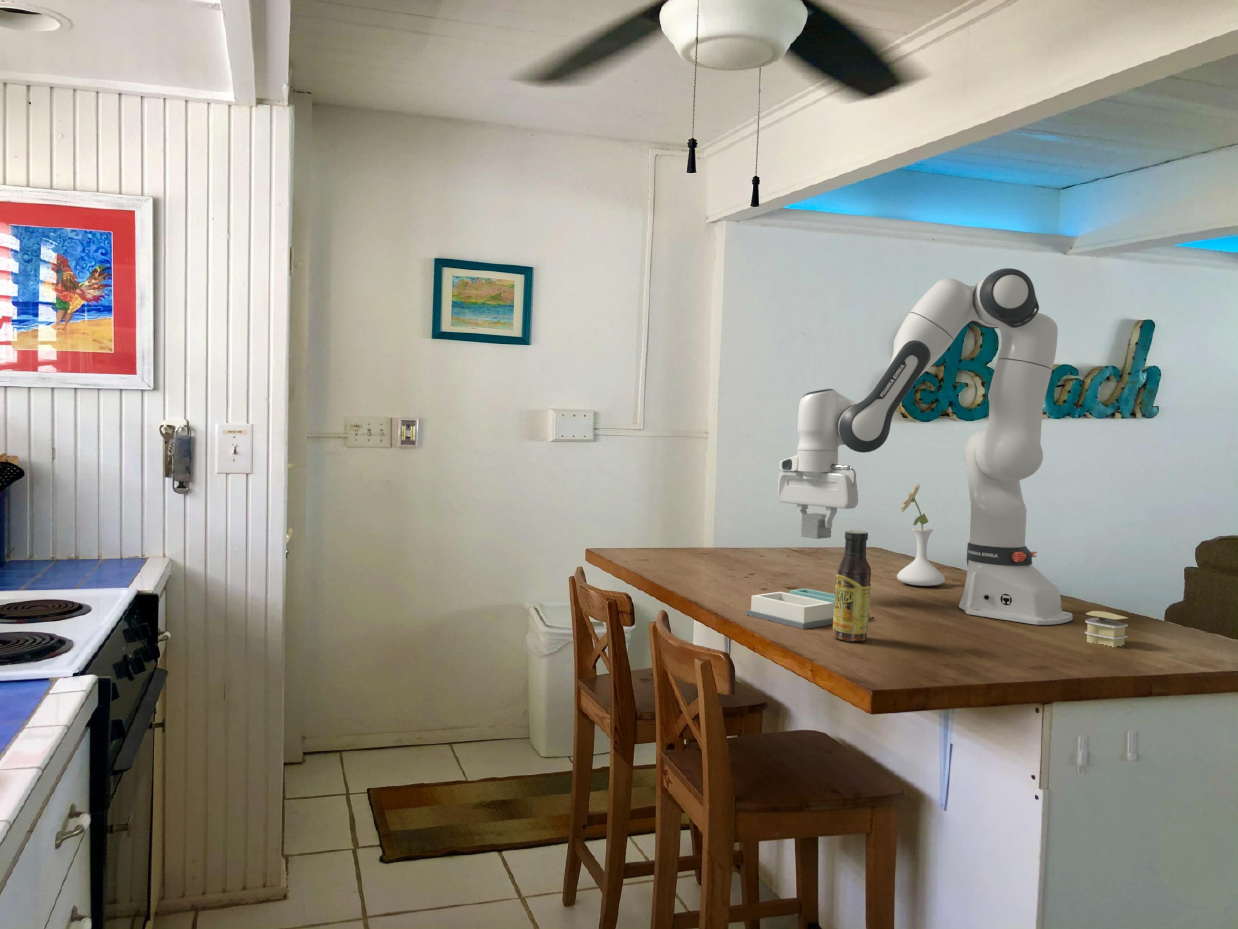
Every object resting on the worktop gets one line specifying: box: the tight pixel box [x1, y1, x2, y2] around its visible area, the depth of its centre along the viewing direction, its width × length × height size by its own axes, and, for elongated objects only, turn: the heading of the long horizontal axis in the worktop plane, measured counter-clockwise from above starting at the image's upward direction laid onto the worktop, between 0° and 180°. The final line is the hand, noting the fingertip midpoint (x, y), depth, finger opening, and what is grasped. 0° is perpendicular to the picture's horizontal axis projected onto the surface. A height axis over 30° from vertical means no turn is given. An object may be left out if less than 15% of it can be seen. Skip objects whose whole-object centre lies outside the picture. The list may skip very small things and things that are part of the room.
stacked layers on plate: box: [1084, 610, 1129, 648], centre depth 179 cm, size 10×9×6 cm
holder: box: [746, 588, 871, 630], centre depth 196 cm, size 15×20×4 cm
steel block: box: [800, 512, 832, 540], centre depth 213 cm, size 4×4×5 cm
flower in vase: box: [896, 483, 946, 587], centre depth 237 cm, size 13×11×25 cm
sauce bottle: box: [832, 529, 872, 643], centre depth 176 cm, size 6×6×20 cm
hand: (816, 526), depth 213 cm, fingers closed on steel block, 4 cm apart
